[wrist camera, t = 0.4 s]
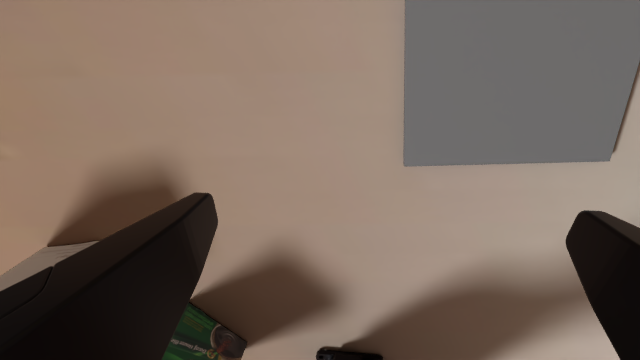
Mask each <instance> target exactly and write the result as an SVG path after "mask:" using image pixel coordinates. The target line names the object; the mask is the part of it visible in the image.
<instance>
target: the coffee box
mask: <svg viewBox="0 0 640 360" xmlns="http://www.w3.org/2000/svg"><path fill="white" fill-rule="evenodd" d="M246 345H247V342H246V341H244V340H242V339H241V338H240V337H238V336H237V335H236V334H234V333H233V332H231V331H229V330H228V329H226V328H225V327H223V326H222V325H220V324H219V323H217V322H216V321H214V320H213V319H212V318H210V317H209V316H207V315H206V314H205V313H204V312H203V311H201V310H200V309H198V308H196V307H194V306H193V305H191V304H190V303H188V304H187V307H186V309H185V311H184V313H183V315H182V317H181V319H180V322H179V324H178V326H177V328H176V330H175V332H174V334H173V337H172V339H171V341H170V343H169V345H168V347H167V349H166V352H165V354H164V356H163V358H162V360H241V358H242V356H243V353H244V350H245V348H246Z"/></svg>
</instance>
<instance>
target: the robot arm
mask: <svg viewBox="0 0 640 360" xmlns="http://www.w3.org/2000/svg"><path fill="white" fill-rule="evenodd" d="M217 225H218V218H217V213H216V209H215V204H214V200H213V197H212V195H211V194H209V193H193V194H191V195H189V196H187V197H185V198H183V199H181V200H179V201H177V202H175V203H173V204H171V205H169V206H167V207H165V208H164V209H162V210H160V211H158V212H156V213H154V214H152V215H150V216H148V217H146V218H144V219H142V220H140V221H138V222H136V223H134V224H132V225H130V226H128V227H126V228H124V229H122V230H120V231H118V232H116V233H114V234H112V235H110V236H109V237H107V238H105V239H103V240H101V241H99V242H97V243H95V244H93V245H91V246H89V247H87V248H85V249H83V250H81V251H79V252H77V253H75V254H73V255H71V256H69V257H67V258H65V259H63V260H61V261H59V262H57V263H56V264H55V265H54V266H49V267H47V268H45V269H43V270H42V271H40V272H38V273H36V274H34V275H32V276H30V277H28V278H26V279H24V280H22V281H20V282H18V283H16V284H14V285H12V286H10V287H7V288H5V289H3V290H1V291H0V360H162V358H163V356H164V354H165V352H166V349H167V347H168V345H169V343H170V341H171V339H172V337H173V334H174V332H175V330H176V328H177V326H178V324H179V322H180V319H181V317H182V315H183V313H184V311H185V309H186V307H187V304H188V302H189V300H190V298H191V296H192V294H193V292H194V289H195V287H196V285H197V283H198V281H199V278H200V276H201V273H202V270H203V268H204V265H205V262H206V259H207V256H208V253H209V250H210V247H211V244H212V241H213V238H214V235H215V232H216V229H217ZM566 247H567V250H568V252H569V254H570V257H571V259H572V262H573V264H574V266H575V269H576V271H577V274H578V276H579V278H580V281H581V283H582V286H583V288H584V290H585V293H586V295H587V297H588V300H589V302H590V304H591V306H592V308H593V310H594V312H595V314H596V316H597V318H598V319H599V321H600V323H601V325H602V327H603V329H604V330H605V332H606V334H607V336H608V338H609V340H610V341H611V343H612V345H613V347H614V349H615V351H616V352H617V354H618V356H619V358H620V360H640V228H639V227H636V226H634V225H632V224H630V223H628V222H625V221H623V220H621V219H619V218H616V217H614V216H612V215H610V214H608V213H605V212H602V211H582V212H580V213H579V214H578V215H577V217H576V219H575V221H574V223H573V225H572V227H571V229H570V231H569V233H568V235H567V237H566ZM316 359H317V360H383V357H382V356H380V355H371V354H360V353H348V352H336V351H325V350H319V351H317V355H316Z"/></svg>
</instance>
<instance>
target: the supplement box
mask: <svg viewBox="0 0 640 360" xmlns="http://www.w3.org/2000/svg"><path fill="white" fill-rule="evenodd" d="M97 242H99V241H93V242H88V243H81V244H74V245H65V246H55V247H44V248H42V249H41V250H39V251H38V252H36V253H35V254H33V255H32V256H30V257H29V258H27V259H25V260H24V261H22V262H21V263H19V264H18V265H16V266H15V267H13V268H12V269H10V270H9V271H7V272H6V273H4V274H3V275H1V276H0V291H1V290H3V289H5V288H7V287H10V286H12V285H14V284H16V283H18V282H20V281H22V280H24V279H26V278H28V277H30V276H32V275H34V274H36V273H38V272H40V271H42V270H43V269H45V268H47V267H49V266H54V265H55V264H56V263H57V262H59V261H61V260H63V259H65V258H67V257H69V256H71V255H73V254H75V253H77V252H79V251H81V250H83V249H85V248H87V247H89V246H91V245H93V244H95V243H97Z"/></svg>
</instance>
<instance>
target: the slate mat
mask: <svg viewBox="0 0 640 360" xmlns="http://www.w3.org/2000/svg"><path fill="white" fill-rule="evenodd" d="M639 62H640V0H405V75H404V166H443V165H482V164H521V163H560V162H600V161H610V158H611V155H612V152H613V148H614V145H615V142H616V138H617V135H618V132H619V128H620V125H621V122H622V118H623V115H624V112H625V108H626V105H627V102H628V98H629V95H630V92H631V88H632V85H633V82H634V78H635V75H636V72H637V68H638V65H639Z"/></svg>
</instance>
